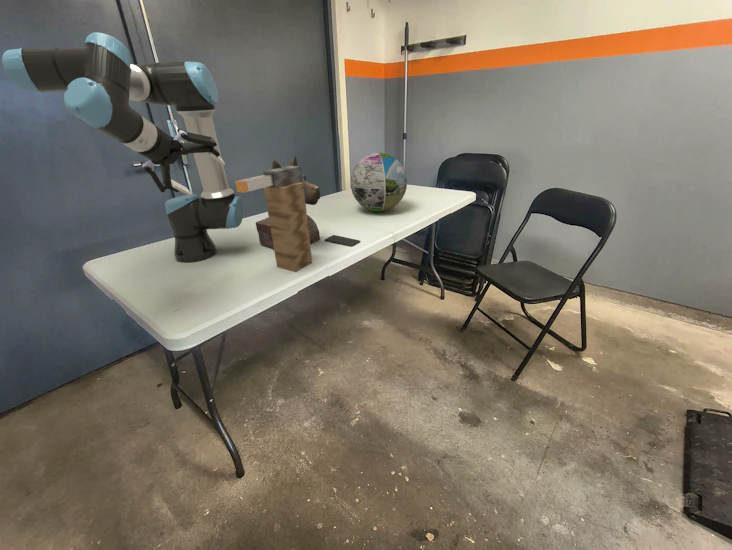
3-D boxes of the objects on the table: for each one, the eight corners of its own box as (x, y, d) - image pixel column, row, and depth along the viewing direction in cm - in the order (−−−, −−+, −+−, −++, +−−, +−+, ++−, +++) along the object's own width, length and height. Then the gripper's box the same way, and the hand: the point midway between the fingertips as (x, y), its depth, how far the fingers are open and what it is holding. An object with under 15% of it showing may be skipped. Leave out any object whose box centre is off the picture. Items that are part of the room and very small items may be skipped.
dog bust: (309, 259, 124) (297, 162, 109) (259, 245, 138) (242, 158, 122) (338, 243, 138) (332, 155, 122) (290, 232, 152) (279, 153, 136)
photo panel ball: (397, 220, 164) (398, 157, 150) (343, 216, 174) (339, 156, 160) (412, 205, 189) (414, 150, 175) (363, 202, 199) (362, 149, 185)
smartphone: (352, 246, 134) (323, 239, 141) (352, 248, 134) (323, 241, 141) (361, 240, 139) (333, 234, 146) (361, 242, 140) (333, 236, 147)
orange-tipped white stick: (244, 192, 93) (242, 181, 91) (237, 191, 94) (235, 181, 93) (299, 178, 110) (298, 169, 109) (292, 177, 112) (291, 168, 110)
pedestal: (293, 273, 114) (279, 172, 98) (275, 267, 118) (258, 170, 103) (315, 260, 123) (305, 166, 107) (297, 256, 127) (285, 165, 112)
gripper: (113, 184, 76) (180, 213, 97) (193, 113, 75) (243, 158, 95) (99, 162, 78) (168, 195, 98) (177, 92, 76) (230, 140, 97)
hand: (205, 177), depth 97 cm, fingers open, 13 cm apart
